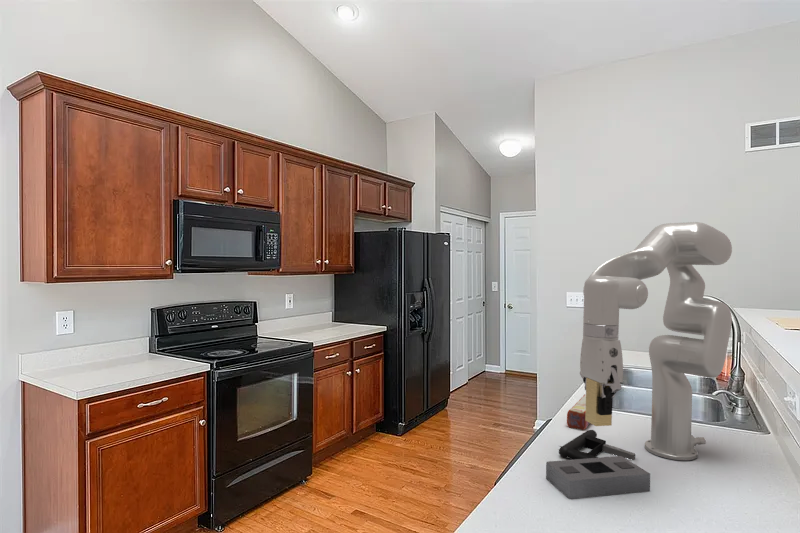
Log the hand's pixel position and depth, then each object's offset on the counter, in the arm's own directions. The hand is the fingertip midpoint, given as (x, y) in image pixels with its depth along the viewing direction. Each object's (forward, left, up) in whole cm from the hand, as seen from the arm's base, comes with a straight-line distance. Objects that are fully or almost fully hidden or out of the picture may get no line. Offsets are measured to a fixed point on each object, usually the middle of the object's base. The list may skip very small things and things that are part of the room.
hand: (598, 410), depth 111 cm
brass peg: (0, 0, -3) cm, 3 cm away
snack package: (-24, -41, -18) cm, 51 cm away
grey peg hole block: (0, 0, -17) cm, 17 cm away
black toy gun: (-11, -16, -18) cm, 27 cm away
